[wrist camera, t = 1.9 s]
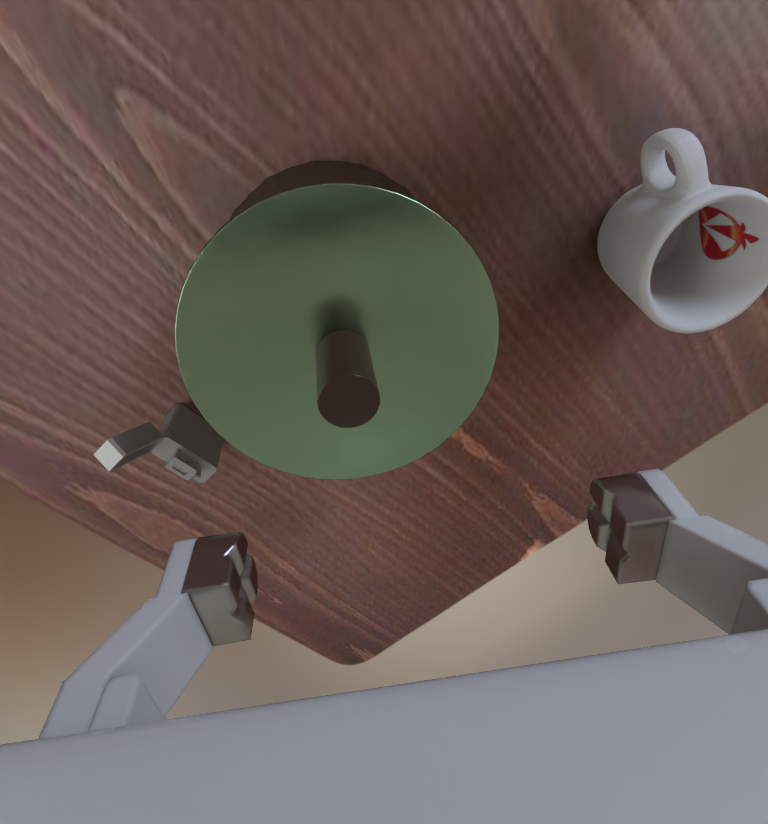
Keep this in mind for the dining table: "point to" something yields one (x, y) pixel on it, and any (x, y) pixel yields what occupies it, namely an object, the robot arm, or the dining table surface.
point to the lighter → (168, 445)
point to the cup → (686, 240)
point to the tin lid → (336, 330)
